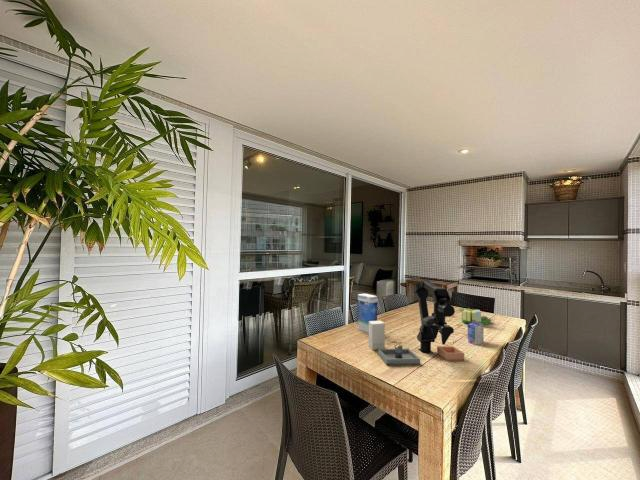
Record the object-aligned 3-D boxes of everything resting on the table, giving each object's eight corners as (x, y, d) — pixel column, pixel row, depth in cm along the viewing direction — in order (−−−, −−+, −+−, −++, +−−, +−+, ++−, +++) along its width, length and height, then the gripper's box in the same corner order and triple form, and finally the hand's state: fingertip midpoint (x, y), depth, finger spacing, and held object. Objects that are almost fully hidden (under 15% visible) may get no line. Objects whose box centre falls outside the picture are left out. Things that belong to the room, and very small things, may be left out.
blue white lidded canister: (377, 332, 196) (378, 296, 196) (369, 334, 191) (370, 297, 192) (364, 327, 207) (364, 293, 207) (356, 329, 202) (357, 294, 203)
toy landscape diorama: (472, 317, 245) (473, 302, 245) (498, 322, 229) (498, 306, 229) (453, 323, 223) (454, 307, 223) (480, 330, 207) (480, 312, 208)
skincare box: (380, 345, 171) (381, 320, 171) (385, 349, 164) (385, 323, 164) (367, 346, 169) (368, 320, 170) (371, 350, 163) (372, 323, 163)
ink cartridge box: (475, 340, 185) (475, 318, 185) (484, 342, 180) (484, 320, 180) (466, 342, 180) (467, 320, 180) (475, 345, 175) (475, 322, 175)
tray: (378, 354, 157) (378, 349, 157) (408, 353, 159) (408, 348, 159) (386, 365, 143) (386, 359, 143) (420, 364, 145) (420, 358, 145)
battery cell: (393, 356, 152) (393, 344, 153) (400, 355, 153) (400, 343, 153) (396, 359, 148) (396, 346, 149) (403, 358, 149) (403, 346, 149)
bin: (437, 353, 160) (437, 346, 160) (453, 353, 161) (453, 346, 161) (446, 360, 150) (446, 353, 150) (464, 360, 151) (464, 353, 151)
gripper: (417, 307, 156) (417, 335, 156) (432, 316, 138) (432, 347, 137) (436, 307, 157) (436, 335, 157) (454, 316, 138) (454, 347, 138)
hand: (439, 341), depth 147 cm, fingers open, 9 cm apart
